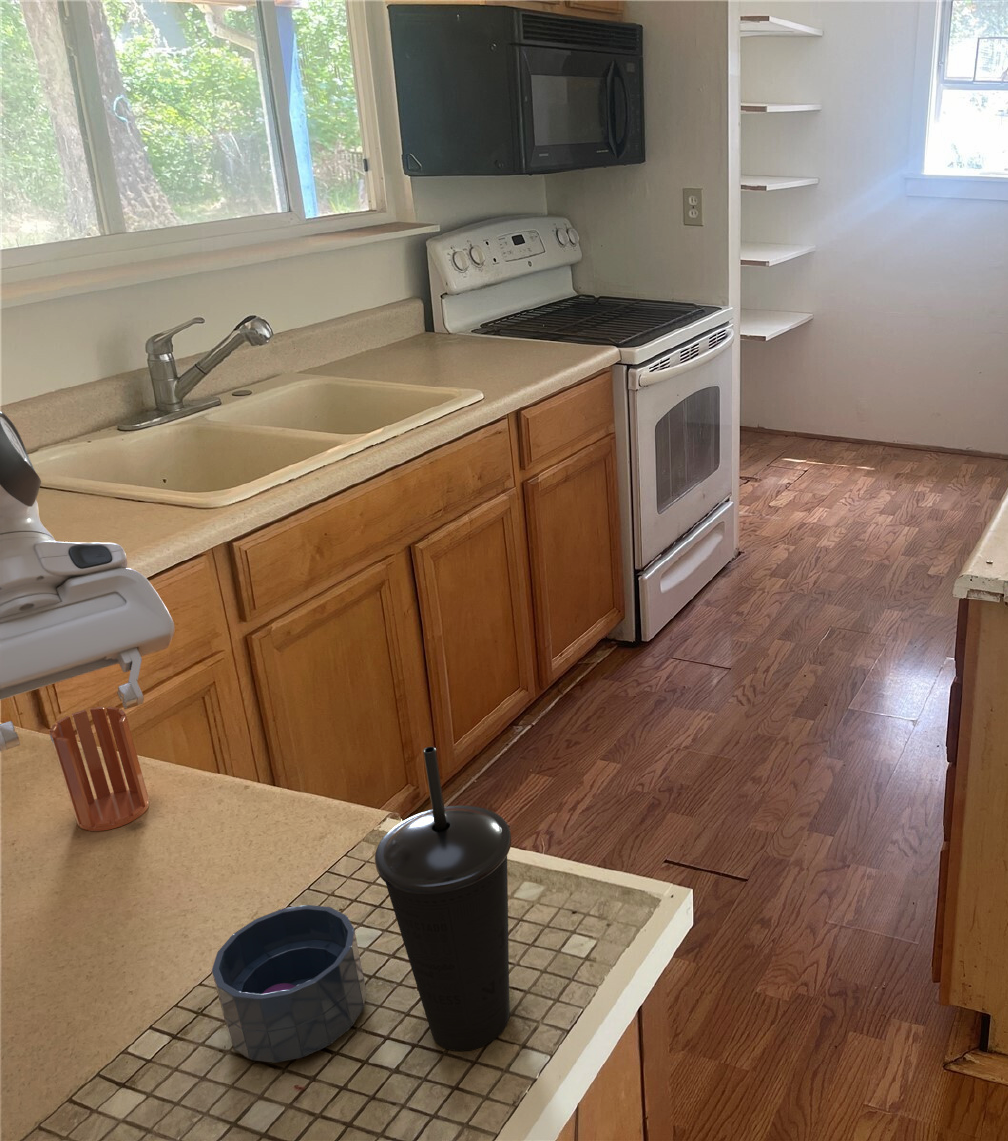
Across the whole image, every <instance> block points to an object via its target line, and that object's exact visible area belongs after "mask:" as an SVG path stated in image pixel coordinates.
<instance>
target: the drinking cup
mask: <svg viewBox="0 0 1008 1141" xmlns="http://www.w3.org/2000/svg"><path fill="white" fill-rule="evenodd" d="M422 754H423V760H424V766H425V771H426V772H425V773H426V779H427V784H428V785H427V786H428V790H429V792H428V793H429V798H430V804H431V805H430V806H431V809H428V810H425V811H422V812H419V813H417V814H413V815H412V816H410V817H408V818H406V819H404V820H403V821H401V822H399V823H398V824H396V825H395V826H393V827H392V828H391V829H390V830H389V831H387V833H386V834H385V835H384V836H383V837H382V839H380V841H379V843H378V845H377V846H376V850H375V853H374V865H375V869H376V873H377V875H378V876H379V877H380V879H381V880H382V881H383V882H384V883H385V887H386V889H387V893H388V896H389V899H390V902H391V906H392V908H393V913H394V915H395V918H396V922H397V925H398V930H399V932H400V934H401V938H402V942H403V945H404V949H405V951H406V955H407V958H408V961H409V965H410V968H411V971H412V974H413V975H412V976H413V978H414V981H415V985H416V988H417V991H418V994H419V998H420V1001H421V1004H422V1007H423V1011H424V1014H425V1017H426V1021H427V1024H428V1027H429V1031H430V1034H431V1037H432V1038H433V1040H434V1042H436V1044H437V1045H438V1046H440V1047H442V1048H444V1049H446V1050H448V1051H452V1052H453V1051H454V1052H468V1051H472V1050H476V1049H480V1048H482V1047H485V1046H486V1045H489V1044H490V1043H492V1042H493V1041H495V1040H496V1039H497V1038H498V1037H500V1035H501V1034H502V1033H503V1032H504V1030H505V1029H506V1027H507V1025H508V1023H509V1020H510V961H509V960H510V956H509V955H510V953H509V951H510V950H509V946H510V945H509V883H508V882H509V881H508V877H509V876H508V854H509V853H510V850H511V846H512V832H511V829H510V826H509V824H508V823H507V822H506V820H505V819H504V818H503V816H500V814H498V813H497V812H495V811H492V810H490V809H487V808H484V807H481V806H480V807H479V806H475V805H463V804H462V805H460V804H459V805H447V806H445V802H444V796H443V789H442V781H441V775H440V774H441V773H440V769H439V768H440V767H439V760H438V755H437V749H436V747H435V746H427V747H425V748H424V749H423V751H422Z"/></svg>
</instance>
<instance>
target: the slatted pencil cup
mask: <svg viewBox="0 0 1008 1141" xmlns="http://www.w3.org/2000/svg"><path fill="white" fill-rule="evenodd" d="M89 712H90V715H91V719H92V722H93V726H94V730H95V733H96V736H97V739H98V743H99V746H100V750H101V753H102V757H103V761H104V764H105V768H106V771H107V774H108V778H109V781H110V785H111V788H112V792H111V790H110V786H109V783H108V781H107V780H108V779H107V777H106V774H105V770H104V766H103V763H102V760H101V756H100V753H99V750H98V746H97V742H96V739H95V736H94V732H93V729H92V725H91V722H90V718H89V714H88V712H87V709H83V710H79V711H77V712H74V713H71V716H72V719H73V722H72V720H71V716H69V715H67V716H64V717H63V718H61V719H59V720H58V721H56V723H55V724H53V725H52V726H51V728H50V730H49V737H50V740H51V744H52V747H53V751H54V754H55V757H56V760H57V763H58V767H59V770H60V773H61V775H62V779H63V783H64V786H65V790H66V793H67V796H68V799H69V802H70V805H71V809H72V812H73V816H74V818H75V820H76V823H77V825H78V827H79V828H80V829H82V830H85V831H90V832H102V831H108V830H113V829H116V828H119V827H122V826H125V825H128V824H130V823H131V822H133V821H135V820H137V819H138V818H140V817H141V816H142V815H143V814H145V813H146V811H147V810H148V808H149V806H150V800H149V794H148V790H147V787H146V783H145V780H144V775H143V772H142V769H141V764H140V760H139V757H138V753H137V750H136V747H135V743H134V739H133V736H132V732H131V729H130V728H131V727H130V725H129V721H128V717H127V714H126V712H125V711H124V710H123V709H120V708H119V707H115V706H108V707H106V708H105V706H99V707H91V708H90V709H89ZM73 723H74V726H75V730H76V733H77V736H76V733H75V730H74V726H73ZM77 737H78V740H79V742H78V740H77ZM79 743H80V744H79ZM79 745H80V746H81V749H80V747H79ZM81 750H82V753H83V757H84V760H85V763H84V761H83V757H82V754H81ZM85 764H86V766H85ZM86 767H87V770H86ZM87 771H88V773H87ZM88 774H89V777H90V780H89V777H88ZM90 781H91V783H90ZM91 784H92V787H93V790H92V787H91ZM93 791H94V794H95V796H94V794H93Z"/></svg>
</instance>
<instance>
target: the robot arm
mask: <svg viewBox="0 0 1008 1141" xmlns="http://www.w3.org/2000/svg"><path fill="white" fill-rule="evenodd" d="M41 484H42V480H41V478H40V476H39V475H38V473H37V472H36V469H35V468H34V465H33V464H32V461H31V459H30V457H29V453H28V451H27V449H26V446H25V445H24V442H23V438H22V437H21V435H20V433H19V431H18V429H17V427H16V426H15V424H14V423H13V421H12V420H11V419H10V418H9V417H8V416H7V415H6V414H5V413H4V412H2V411H0V701H3V700H6V699H10V698H12V697H16V696H19V695H22V694H25V693H29V692H33V691H35V690H38V689H42V688H45V687H49V686H52V685H56V684H58V683H61V682H64V681H68V680H72V679H74V678H77V677H80V676H84V675H88V674H90V673H93V672H96V671H97V672H98V671H99V670H103V669H106V668H109V667H113V666H116V665H119V666H120V668H121V671H122V673H129V676H128V681H127V682H126V683H123V684H121V685H118V686H117V696H118V697H117V698H118V699H119V701H120V702H121V705H122V707H123V709H124V710H129V709H131V708H135V707H138V706H141V705H143V704H144V701H145V697H144V694H143V691H142V690H141V687H140V685H139V683H138V682H139V677H140V672H141V667H142V663H143V662H142V661H143V658H142V657H146V656H148V655H151V654H155V653H158V652H161V651H165V650H166V649H168V648H169V646H170V645H171V643H172V640H173V638H174V635H175V628H176V627H175V622H174V620H173V617H172V615H171V613H170V610H168V608H167V606H166V604H165V602H164V601H163V599H162V598H161V596H160V594H159V593H158V591H157V590H156V589H155V587H154V586H153V584H152V583H151V582H150V581H149V579H148V578H147V577H146V576H145V575H143V574H142V573H141V572H139V571H137V570H135V569H133V568H129V565H128V558H127V553H126V551H125V550H124V547H122V545H120V544H118V543H115V542H70V541H69V542H68V541H65V542H64V541H56V539H55V538H54V536H53V534H51V532H50V531H49V530H48V529H47V528H46V527H45V526H44V524H43V523H42V521H41V519H40V513H39V504H38V503H39V502H38V501H37V499H38V498H37V497H38V495H39V492H40V488H41ZM20 742H21V740H20V737H19V734H18V733H17V731H16V730H15V726H14V723H13V721H12V720H10V721H5V722H3V723H0V753H1V752H4V751H8V750H10V749H13V748H16V747H18V746H21V743H20Z"/></svg>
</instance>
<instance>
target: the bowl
mask: <svg viewBox="0 0 1008 1141" xmlns="http://www.w3.org/2000/svg"><path fill="white" fill-rule="evenodd" d="M359 951H360V950H359V946H358V942H357V936H356V930H355V928H354V926H353V924H352V922H351V921H350V919H349V917H348V916H347V915H346V914H345V913H343V912H341V911H338V910H336V909H334V908H333V907H331V906H322V905H315V904H314V905H313V904H312V905H311V904H305V905H298V906H291V907H286V908H285V907H284V908H280V909H278V910H275V911H273V912H270V913H267V914H264V915H262V916H260V917H257V918H255V919H253V920H252V921H250V922H249V923H247V924H245V925H244V926H243V927H242V928H239V929H238V930H237V931H235V932H234V933H233V934H231V935H230V937H229V938H228V939H226V941H225V942H224V944H222V946H221V947H220V948H219V949H218V950H217V952H216V955H215V958H214V962H213V964H212V968H211V974H212V977H213V981H214V982H213V983H214V985H215V989H216V993H217V997H218V1000H219V1004H220V1007H221V1012H222V1016H223V1019H224V1024H225V1027H226V1030H227V1034H228V1036H229V1037H228V1038H229V1039H230V1041H231V1045H232V1048H233V1049H234V1051H236V1052H237V1053H239V1054H240V1055H242V1056H244V1057H245V1058H247V1059H248V1060H249V1061H250V1060H251V1061H256V1062H257V1061H258V1062H264V1063H265V1062H266V1063H273V1064H274V1063H282V1062H288V1061H292V1060H297V1059H303V1058H305V1057H307V1056H309V1055H311V1054H314V1053H316V1052H318V1051H320V1050H322V1049H324V1048H326V1047H328V1046H330V1045H332V1044H333V1043H334V1042H336V1041H338V1039H339V1038H340V1037H342V1036H343V1035H344V1034H345V1033H346V1032H348V1031H349V1030H350V1029H352V1028H353V1026H354V1024H355V1023H356V1021H357V1019H358V1018H359V1017H360V1014H361V1013H362V1011H363V1010H364V1008H365V1005H366V1004H365V1003H366V996H367V995H366V994H367V986H366V982H365V977H364V971H363V966H362V962H361V955H360V952H359ZM281 983H287V984H292V985H294V986H295V987H293V988H291V989H289V990H283V991H278V992H272V993H266V994H262V993H263V992H264V991H265V990H266V989H268V988H270V987H271V986H274V985H276V984H281Z"/></svg>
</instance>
